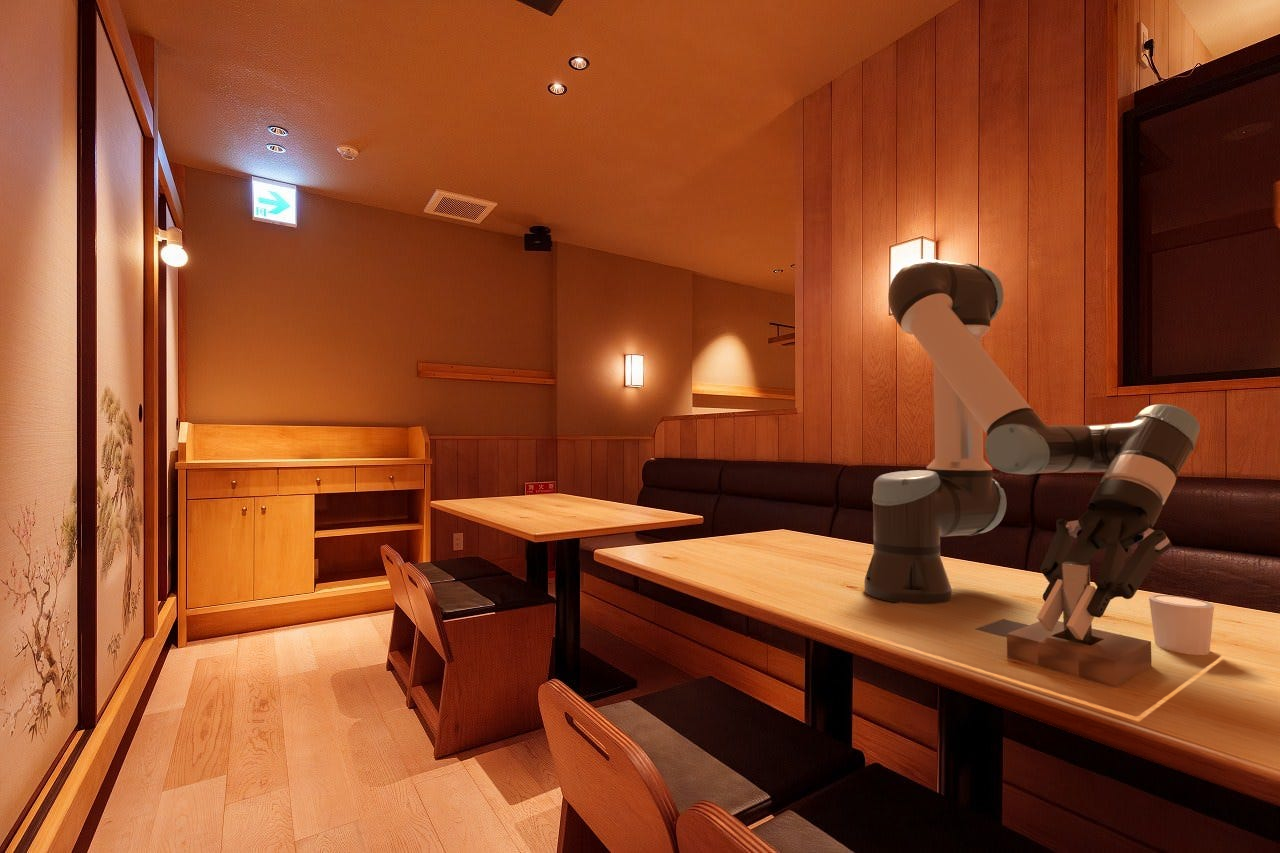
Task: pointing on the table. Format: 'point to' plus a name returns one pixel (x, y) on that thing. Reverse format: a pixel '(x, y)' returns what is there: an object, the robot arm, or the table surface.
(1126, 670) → the socket block
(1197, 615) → the white cup
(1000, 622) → the coaster
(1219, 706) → the table surface
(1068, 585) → the peg
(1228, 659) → the table surface
